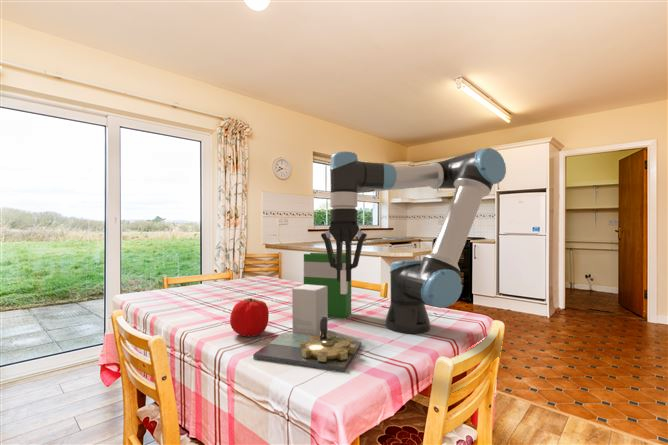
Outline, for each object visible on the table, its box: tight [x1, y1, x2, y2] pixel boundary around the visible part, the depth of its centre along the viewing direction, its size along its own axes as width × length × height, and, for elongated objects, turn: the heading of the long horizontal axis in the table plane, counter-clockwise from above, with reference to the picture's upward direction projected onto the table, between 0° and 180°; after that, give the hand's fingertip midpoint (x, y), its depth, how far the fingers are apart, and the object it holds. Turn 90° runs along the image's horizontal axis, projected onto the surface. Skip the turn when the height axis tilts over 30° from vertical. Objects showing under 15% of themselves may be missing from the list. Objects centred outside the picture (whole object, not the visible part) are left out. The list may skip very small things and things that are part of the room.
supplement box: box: [291, 284, 329, 337], centre depth 107 cm, size 9×9×15 cm
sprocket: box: [300, 317, 356, 362], centre depth 87 cm, size 15×15×8 cm
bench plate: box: [253, 332, 363, 373], centre depth 90 cm, size 25×18×1 cm
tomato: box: [229, 297, 270, 338], centre depth 105 cm, size 12×13×12 cm
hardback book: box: [303, 252, 352, 319], centre depth 129 cm, size 18×7×24 cm, turn 71°
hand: (344, 293), depth 90 cm, fingers closed
